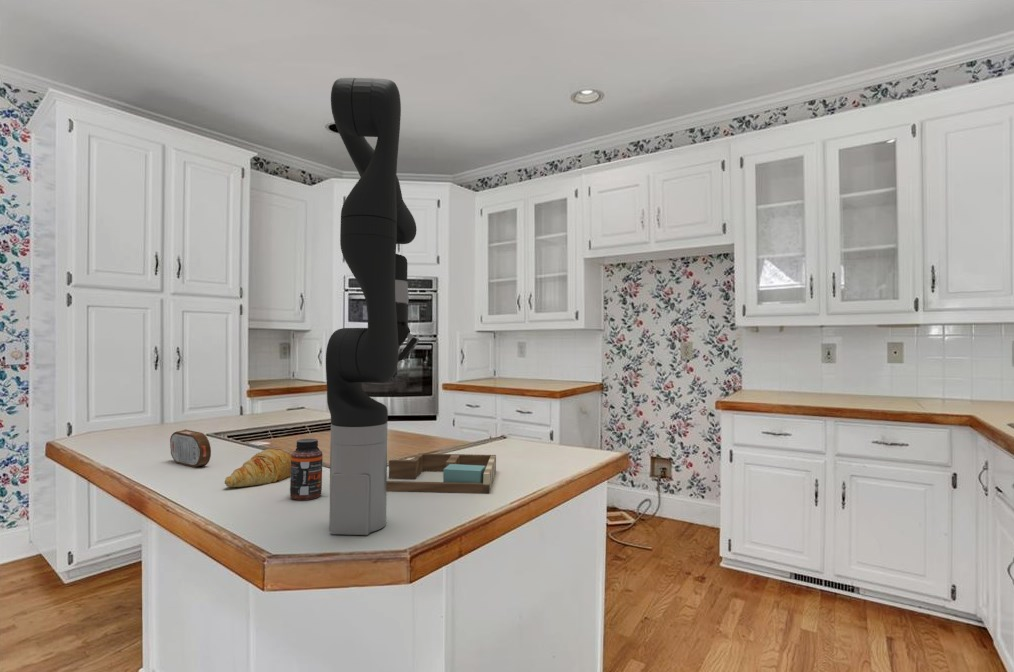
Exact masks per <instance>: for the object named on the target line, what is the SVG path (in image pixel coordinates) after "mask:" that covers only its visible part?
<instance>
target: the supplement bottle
mask: <svg viewBox="0 0 1014 672" xmlns="http://www.w3.org/2000/svg"><path fill="white" fill-rule="evenodd" d="M318 446H319V441H318V439H317V438H301V439H297V440H296V448H295V450H294V451H292V452H291V454H290V455H291V475H290V476H289V477H290V478H289V479H290V481H289V482H290V483H289V487H290V488H289V497H290V498H291V499H293V500H297V501H306V500H308V501H309V500H313V499H317V498H318V497H320V496H321V495H322V490H323V489H322V488H323V451H322V450H321V449H320V448H319V447H318Z"/></svg>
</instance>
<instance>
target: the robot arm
mask: <svg viewBox="0 0 1014 672" xmlns="http://www.w3.org/2000/svg"><path fill="white" fill-rule="evenodd" d="M401 103H402V102H401V95H400V91H399V87H398V85H397V84H396V82H394V81H393V80H391V79H387V78H373V77H370V78H369V77H340V78H337V79H336V80H335V81H334V82H333V84H332V86H331V91H330V108H331V113H332V114H331V115H332V118H333V121H334V124H335V127H336V129H337V131H338V134H339V136H340V138H341V140H342V142H343V144H344V146H345V148H346V151H347V153H348V155H349V157H350V159H351V161H352V163H353V164H354V166H355V168H356V171H357V173H358V175H359V177H360V178H359V179H358V180H357V182H356V183H355V184H354V186H353V187H352V189H351V190H350V191H349V193H348V195H347V197H346V198H345V199H344V202H343V203H342V207H341V211H340V226H339V227H340V232H339V234H340V238H339V241H340V242H339V244H340V249H341V253H342V256H343V258H344V259H343V260H345V263H346V265H347V266H348V268H349V270H350V271H351V274H352V275H353V276H354V278H355V281H356V282H357V284H358V286H359V287H360V290H361V291H362V294H363V297H364V301H365V305H366V312H367V313H366V315H367V327H343V328H338V329H336V330H335V331H334V332H333V333H332V334H331V335H330V338H329V340H328V341H327V346H326V351H325V374H326V375H325V377H326V379H325V381H326V401H327V408H328V410H329V411H328V412H329V414H330V445H329V446H330V449H329V450H330V451H329V454H330V455H329V458H330V459H329V460H330V461H329V464H330V465H329V516H328V517H329V522H328V524H329V526H328V528H329V534H330V535H346V536H347V535H350V536H351V535H352V536H354V535H355V536H356V535H357V536H359V535H360V536H368V535H369V534H370V533H373V532H376V531H379V530H380V529H382V528H384V527H385V526H386V525H387V495H388V494H387V492H388V491H387V481H388V474H387V473H388V419H389V417H388V416H389V415H388V414H389V412H388V411H389V410H388V408H387V405H385V404H384V403H382V402H381V401H380V402H379V401H378V400H375V399H374V398H372V397H371V396H369V395H368V394H367V393H366V392H365V390H364V387H363V383H364V384H365V383H367V384H368V383H370V384H384V383H385V384H386V383H388V382H389V381H395V378H397V376H398V364H399V362H400V361H405V360H407V358H408V356H409V355H410V354H411V352H412V351H414V349H415V347H416V346H417V345H418V343H420V339H419V338H418V337H415V336H414V335H413V334H412V333H411V328H410V327H409V300H410V299H409V298H410V297H409V286H408V285H409V284H408V260H407V257H406V256H404V255H402V254H399V253H397V245H407V244H410V243H412V242H413V241H414V239H415V238H416V235H417V225H416V224H417V223H416V220H415V217H414V215H413V214H412V212H411V210H410V209H409V208H408V206H407V204H406V202H405V201H404V200H403V194H402V189H401V184H400V181H399V177H398V175H397V173H398V170H397V169H398V156H399V144H400V131H401V130H400V129H401V117H402V112H401V111H402V106H401V105H402V104H401ZM366 138H377V140H376V143H375V147H374V148H373V147H372V146H371V144H370V143H369V142H368V140H367V139H366ZM405 342H406V346H405V347H404V348H403V349H402V351H401V346H403V344H404V343H405ZM400 351H401V352H400Z"/></svg>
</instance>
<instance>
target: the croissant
mask: <svg viewBox="0 0 1014 672" xmlns="http://www.w3.org/2000/svg"><path fill="white" fill-rule="evenodd" d="M291 455H292V454H290V453H287V452H286V451H284V450H282V449H280V448H268V449H267V448H266V449H265V450H262V451H260V452H258V453H256V454H255V455H253V456H252V457H251V458H250V459H249V460H247V461H245V462H244V463H243V464H242V466H241V467H239V468H236V469H234V470H233V472H232V473H231V475H229V476H226V477H225V478H224V479H225V480H224V484H225V485H226V487H227V488H240V487H241V488H243V487H249V486H250V487H251V486H252V487H253V486H259V485H260V486H261V485H266V483H268V484H271V482H274V483H276V482H278V481H277V480H279V481H282V479H283V480H286V479H287V478H289V477H291Z"/></svg>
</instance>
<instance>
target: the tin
mask: <svg viewBox="0 0 1014 672" xmlns="http://www.w3.org/2000/svg"><path fill="white" fill-rule="evenodd" d="M169 442H170V443H169V445H170V456H171V458H172V459H173V460H174V461H175V462H176V464H179V465H184V466H187V467H192V468H198V467H203V466H207V465H208V464H209V462H210V460H211V455H212V453H211V452H212V448H211V443H210V440H209V438H208V437H207V436H206V434H205V433H203V432H200V431H195V430H190V429H182V430H178V431H175V432H172V434H171V436H170V438H169Z"/></svg>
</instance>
